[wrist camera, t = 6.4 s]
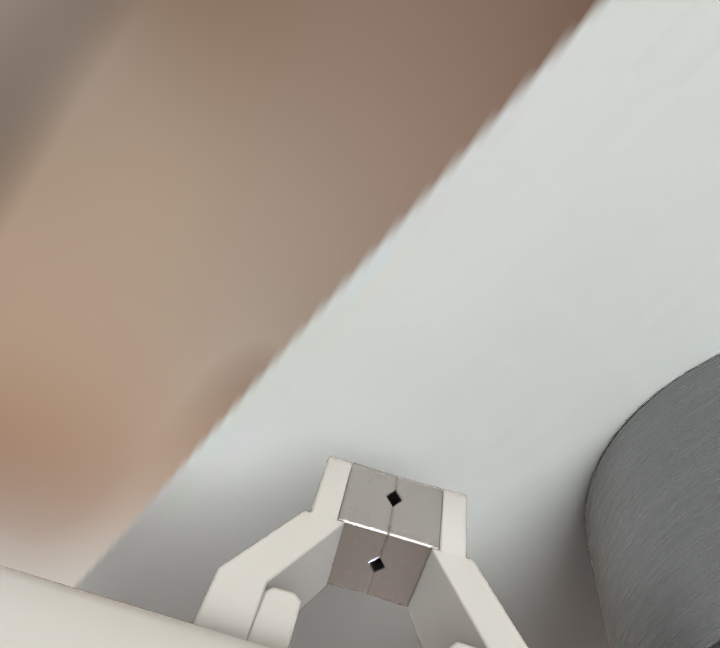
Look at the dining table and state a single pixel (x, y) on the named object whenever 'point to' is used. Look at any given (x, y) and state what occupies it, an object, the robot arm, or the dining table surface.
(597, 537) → the steel pot
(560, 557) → the dining table surface
